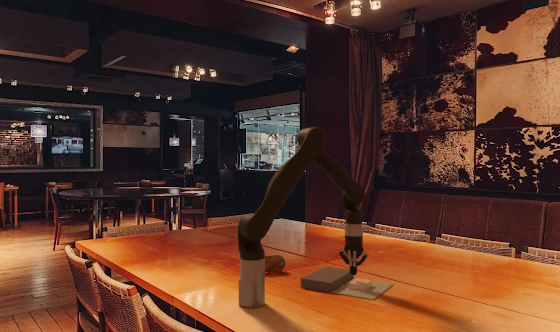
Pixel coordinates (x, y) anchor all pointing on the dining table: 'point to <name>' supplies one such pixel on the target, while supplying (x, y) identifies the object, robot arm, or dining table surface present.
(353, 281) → the tile
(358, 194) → the robot arm
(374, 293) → the mat
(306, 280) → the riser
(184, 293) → the dining table surface
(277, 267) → the tin
